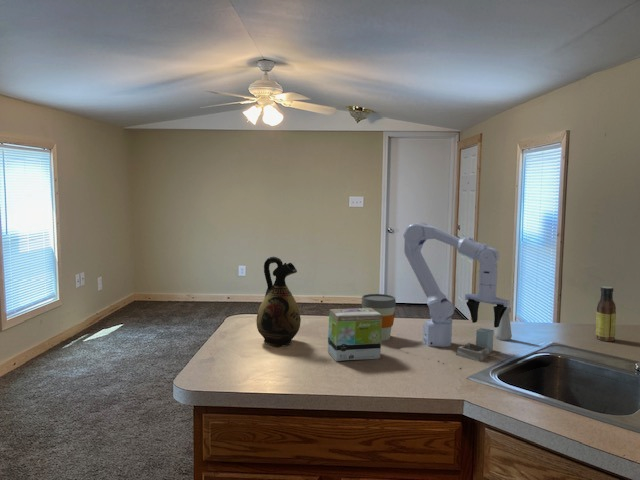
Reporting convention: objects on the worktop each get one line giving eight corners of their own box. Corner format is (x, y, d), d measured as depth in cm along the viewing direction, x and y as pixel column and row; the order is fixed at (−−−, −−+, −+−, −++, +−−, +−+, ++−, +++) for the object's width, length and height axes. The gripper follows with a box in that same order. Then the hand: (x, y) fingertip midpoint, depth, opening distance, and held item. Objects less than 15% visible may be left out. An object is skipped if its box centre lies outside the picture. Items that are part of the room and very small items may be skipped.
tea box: (336, 362, 150) (337, 316, 149) (327, 352, 160) (328, 308, 158) (381, 359, 154) (382, 313, 153) (369, 349, 164) (371, 306, 162)
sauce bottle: (609, 337, 183) (613, 285, 182) (618, 342, 177) (622, 288, 175) (591, 336, 184) (595, 285, 182) (599, 341, 178) (603, 288, 176)
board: (475, 348, 167) (476, 338, 167) (501, 354, 161) (501, 344, 160) (454, 357, 157) (455, 347, 157) (481, 364, 151) (481, 353, 150)
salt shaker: (493, 342, 175) (495, 306, 174) (495, 338, 180) (497, 303, 179) (510, 344, 172) (512, 308, 171) (512, 340, 177) (514, 305, 176)
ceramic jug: (308, 340, 173) (309, 256, 170) (287, 352, 159) (288, 261, 156) (267, 333, 180) (267, 253, 177) (243, 344, 166) (244, 258, 163)
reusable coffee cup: (401, 340, 174) (402, 299, 173) (370, 343, 170) (371, 301, 168) (384, 331, 186) (385, 292, 185) (354, 334, 181) (355, 294, 180)
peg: (487, 353, 159) (488, 332, 158) (475, 350, 161) (476, 329, 161) (492, 350, 161) (493, 330, 161) (481, 347, 164) (482, 327, 164)
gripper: (514, 285, 157) (512, 326, 158) (472, 279, 167) (471, 318, 169) (504, 288, 152) (502, 330, 153) (462, 282, 162) (460, 321, 164)
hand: (485, 324), depth 161 cm, fingers open, 7 cm apart
